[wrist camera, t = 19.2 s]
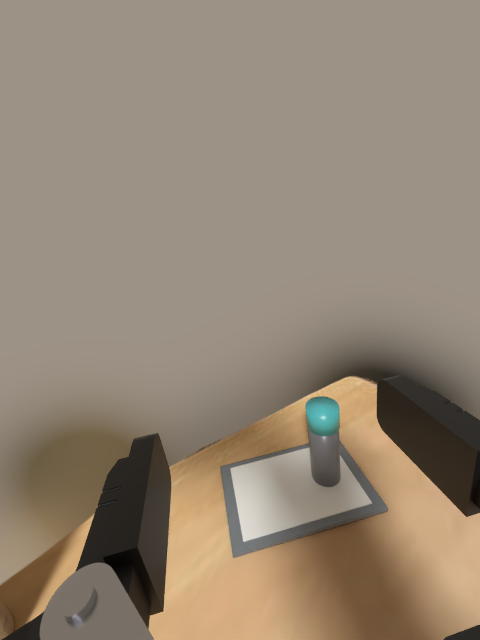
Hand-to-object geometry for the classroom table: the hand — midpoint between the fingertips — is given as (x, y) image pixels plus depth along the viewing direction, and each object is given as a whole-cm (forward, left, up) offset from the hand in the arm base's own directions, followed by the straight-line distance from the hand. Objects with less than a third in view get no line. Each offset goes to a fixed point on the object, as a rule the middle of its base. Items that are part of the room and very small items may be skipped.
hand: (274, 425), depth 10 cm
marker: (+11, +21, -29) cm, 38 cm away
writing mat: (+6, +21, -30) cm, 37 cm away
